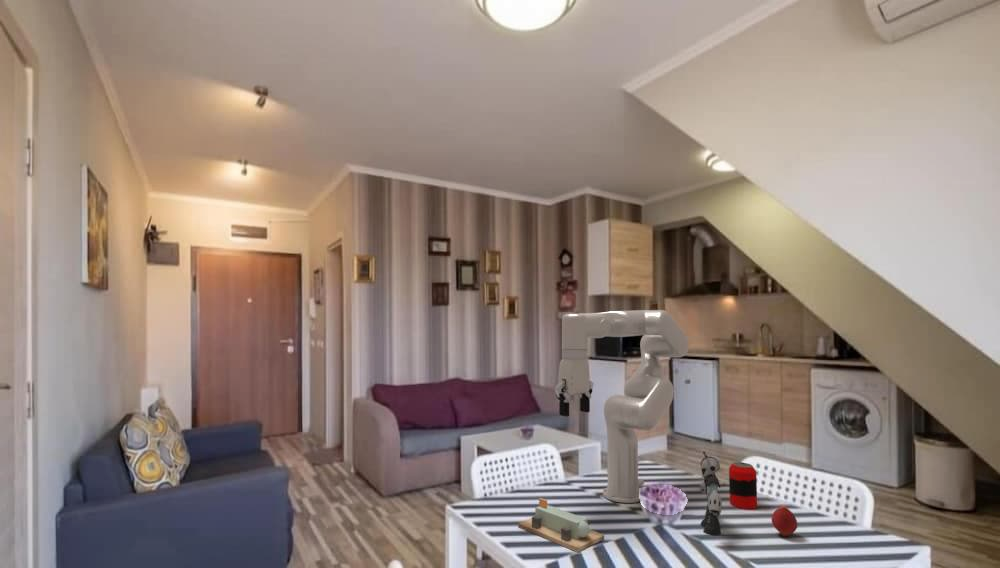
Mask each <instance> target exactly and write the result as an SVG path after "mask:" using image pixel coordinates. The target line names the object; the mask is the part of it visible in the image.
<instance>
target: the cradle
mask: <svg viewBox="0 0 1000 568" xmlns="http://www.w3.org/2000/svg"><path fill="white" fill-rule="evenodd" d="M587 523H588V525H589V526H590V521H589V520H587ZM517 525H518V526H517V527H518V528H520V529H522V530H525V531H527V532H529V533H532V534H534V535H536V536H539V537H540V538H544V539H545V540H548V541H550V542H553V543H555V544H557V545H559V546H563V548H564V547H565V548H567V549H569V550H571V551H574V552H575V553H579V552H581V551H584V550H585V549H588V548H590V547H591V546H593V545H596V544H597V543H599V542H601V541H603V540H605V534H603V533H600V532H597V531H595V530H593V529H590V532H589V535H588V536H587V537H585V538H579V539H574V538H572V537H571V529H569V528H566V527H563V528H561V533H559V532H557V531H554V530H552V529H549V528H547V527H544V526H542V525H541V517H538V516H535V515H534V516H532V517H530V518H528V519H525V520H523V521H520V522H518V524H517Z"/></svg>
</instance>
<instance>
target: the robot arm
mask: <svg viewBox="0 0 1000 568" xmlns="http://www.w3.org/2000/svg"><path fill="white" fill-rule="evenodd" d="M637 336H639V337H640V336H642V337H641V339H640V343H639V346H640V355H641V357H640V358H641V361H640V364H639V365H638V368H636V370H635V371H634V373H633V374H632V375H631V376H630V378H628V380H627V381H626V384H625V385H624V387H623V388H624V389H623V393H624V394H623V395H622V394H615V395H611V396H609V397H608V398H607V399H606V400H605V402H604V404H603V414H604V415H603V416H604V421H605V425H606V438H607V439H606V442H607V447H606V449H607V454H606V455H607V457H606V458H607V459H606V461H607V464H606V465H607V467H606V468H607V487H604V489H602V496H603V497H604V498H605V499H607V500H610V501H612V502H615V503H623V504H624V503H625V504H633V503H639V502H641V501H640V499H639V491H640V489H639V488H640V486H644V484H645V480H644V479H642V478H639V452H638V451H639V449H638V448H639V441H638V437H637V434H636V431H635V430H638V431H645V432H646V431H651V430H653V429H654V428H655V427H656V426H657V425H658V423H659V422H660V420H662V417H663V416H664V415H665V413H666V412H667V410H668V409H669V407H670V406H671V404H672V403H673V402H672V401H673V399H674V395H675V394H674V393H675V392H674V391H675V390H674V385H673V384H672V381H670V380H669V379H668V378H666V377H664V376H665V369H664V366H663V364H662V361H661V359H660V357H664V358H665V357H667V358H682V357H685V356H686V355H687V354H688V352H689V349H690V343H689V339H688V337H687V335H686V334H685V332H684V331H683V329H682V327H681V326H680V324H679V323H678V322H677V321H676V319H675V317H673V316H672V314H670V313H669V312H667V310H665V309H648V310H647V309H636V310H634V309H633V310H615V311H614V310H612V311H605V312H590V313H589V312H588V313H587V312H586V313H582V312H580V313H565V314H564V315H563V316H562V318H561V359H560V362H559V367H558V376H557V377H558V378H557V384H556V385H555V386H554V387H553V388H554V392H555V396H556V398H557V401H558V402H559V405H558V406H559V416H563V417H569V416H570V402H569V400H570V398H571V396H574V395H575V396H576V395H580V398H579V412H583V413H590V410H591V409H590V407H591V405H590V402H591V401H590V400H591V398H592V394H593V388H594V385H595V383H594V382H593V381H592V380H591V379H590V377H591V376H590V368H589V367H590V366H589V361H588V339H589V338H590V339H602V338H604V337H605V338H606V337H610V338H611V337H612V338H625V337H637Z"/></svg>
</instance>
